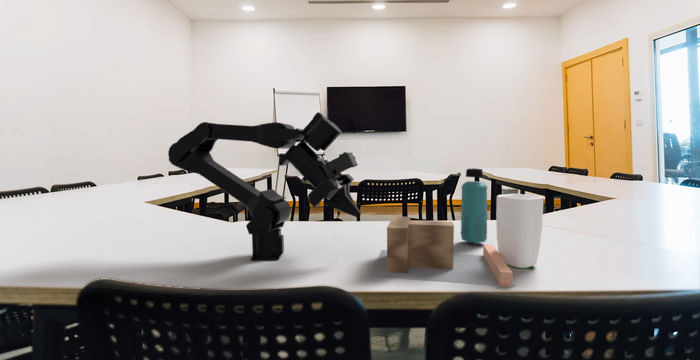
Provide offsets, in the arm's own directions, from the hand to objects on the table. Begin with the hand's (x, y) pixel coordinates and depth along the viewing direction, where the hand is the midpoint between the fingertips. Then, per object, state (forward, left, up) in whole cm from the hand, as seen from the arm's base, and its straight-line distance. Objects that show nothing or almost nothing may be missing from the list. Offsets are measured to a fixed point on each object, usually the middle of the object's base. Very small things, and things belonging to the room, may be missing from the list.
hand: (359, 215), depth 74 cm
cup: (+34, -4, -11) cm, 35 cm away
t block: (+13, -3, -10) cm, 17 cm away
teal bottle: (+31, +12, -11) cm, 34 cm away
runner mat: (+16, -4, -10) cm, 20 cm away
